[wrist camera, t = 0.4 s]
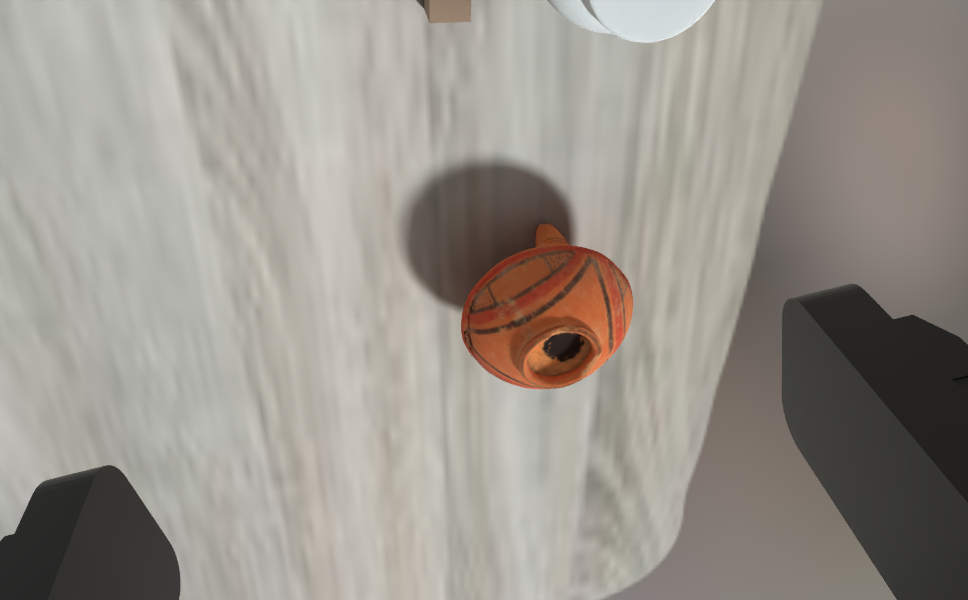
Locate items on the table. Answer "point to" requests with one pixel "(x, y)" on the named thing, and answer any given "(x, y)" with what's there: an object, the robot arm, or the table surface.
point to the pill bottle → (634, 16)
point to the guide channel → (448, 10)
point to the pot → (547, 314)
